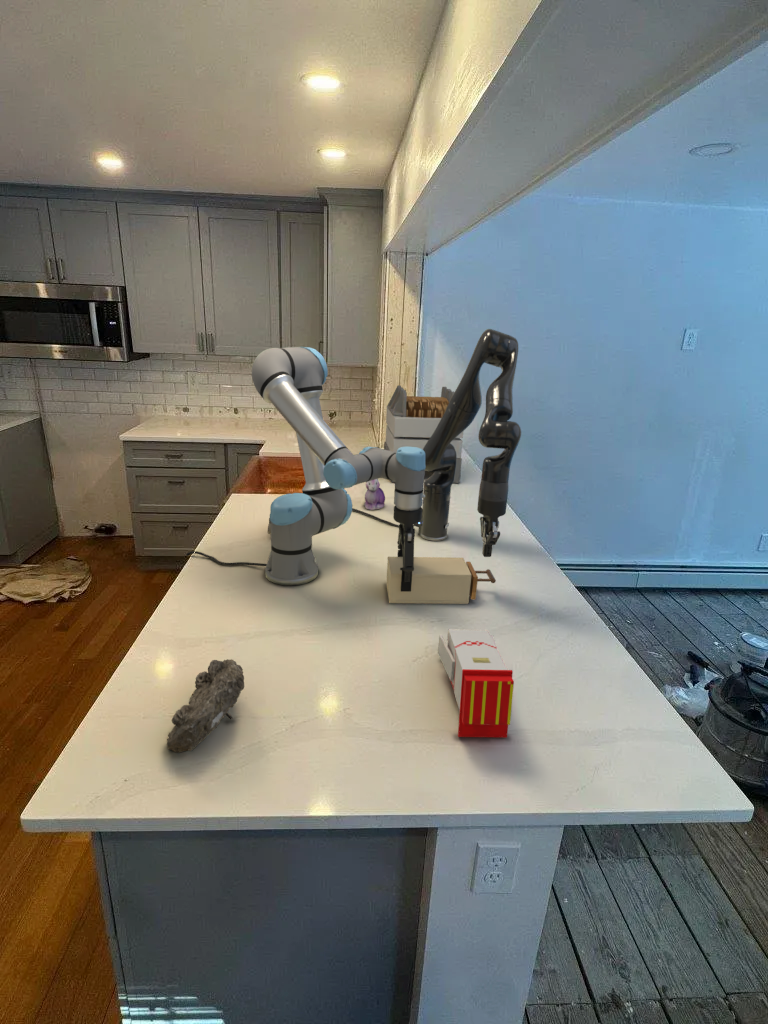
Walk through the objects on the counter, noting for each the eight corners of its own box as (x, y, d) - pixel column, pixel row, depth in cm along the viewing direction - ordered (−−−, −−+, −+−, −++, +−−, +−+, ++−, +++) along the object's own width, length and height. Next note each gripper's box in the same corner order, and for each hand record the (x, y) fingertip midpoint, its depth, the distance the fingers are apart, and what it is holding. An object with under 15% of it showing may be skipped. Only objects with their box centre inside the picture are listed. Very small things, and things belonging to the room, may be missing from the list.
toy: (488, 613, 130) (523, 677, 101) (484, 667, 133) (517, 744, 104) (435, 612, 130) (455, 676, 101) (432, 666, 133) (451, 743, 103)
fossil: (192, 660, 117) (244, 628, 112) (224, 691, 120) (276, 661, 115) (142, 746, 98) (202, 712, 93) (182, 779, 101) (242, 748, 96)
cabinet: (460, 585, 165) (463, 557, 162) (468, 603, 154) (471, 574, 151) (386, 584, 163) (387, 556, 160) (389, 603, 153) (390, 573, 150)
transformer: (382, 463, 289) (386, 382, 275) (445, 464, 293) (451, 384, 279) (390, 482, 257) (394, 392, 243) (460, 483, 261) (468, 394, 247)
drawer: (487, 583, 164) (489, 561, 162) (495, 599, 155) (498, 577, 153) (397, 582, 162) (399, 560, 160) (401, 599, 153) (402, 576, 151)
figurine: (369, 511, 219) (370, 474, 214) (358, 503, 228) (359, 467, 223) (390, 509, 224) (392, 472, 219) (378, 501, 232) (380, 465, 227)
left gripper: (428, 522, 139) (422, 601, 146) (416, 492, 161) (412, 562, 168) (397, 521, 138) (393, 601, 146) (390, 492, 160) (387, 562, 168)
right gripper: (514, 504, 144) (506, 566, 150) (500, 488, 156) (493, 546, 162) (485, 503, 143) (478, 566, 149) (473, 488, 156) (468, 546, 162)
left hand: (403, 580), depth 157 cm, fingers closed on cabinet, 11 cm apart
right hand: (486, 555), depth 156 cm, fingers closed
